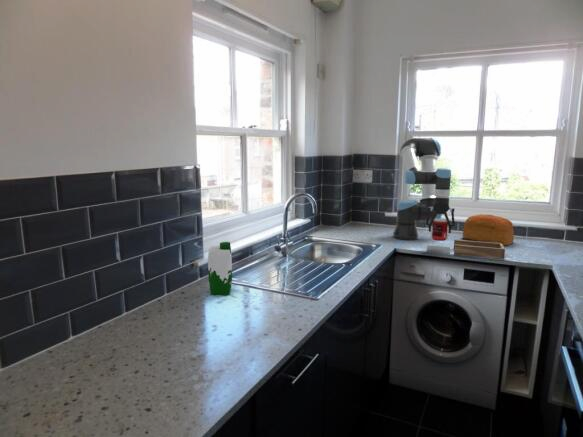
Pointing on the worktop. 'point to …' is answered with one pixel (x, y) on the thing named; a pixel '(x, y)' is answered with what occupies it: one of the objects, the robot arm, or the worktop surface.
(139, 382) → the worktop surface
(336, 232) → the worktop surface
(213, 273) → the milk carton
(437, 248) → the mat
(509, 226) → the bread
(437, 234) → the canned food
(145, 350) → the worktop surface
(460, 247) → the wooden tray
